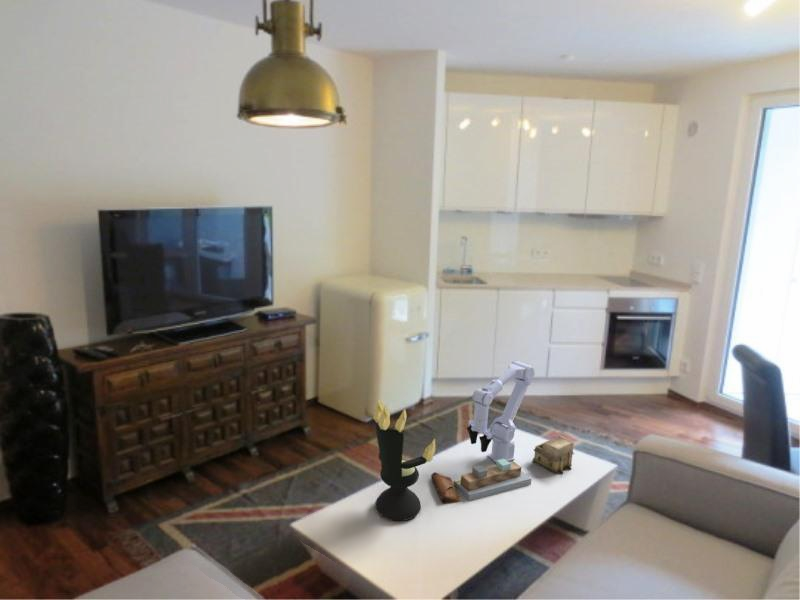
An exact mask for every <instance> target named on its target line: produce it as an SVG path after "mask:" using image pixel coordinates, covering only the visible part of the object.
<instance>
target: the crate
mask: <svg viewBox="0 0 800 600" xmlns="http://www.w3.org/2000/svg"><path fill="white" fill-rule="evenodd" d="M485 468H486V467H484V466H483V465H481V464H480V465H479V464H478V465H475V466H472V469H471V472H472V473H473V474H474V475H475V476H476V477H478V478H482V477H486V476H487V470H486V469H485Z"/></svg>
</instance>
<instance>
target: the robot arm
mask: <svg viewBox="0 0 800 600" xmlns="http://www.w3.org/2000/svg"><path fill="white" fill-rule="evenodd" d="M535 374H536V373H535V368H534V366H533V365H529V364H527V363H523V362H522V361H518V360H512V362H510V363H509V364H508V366H507V370H506V371H504V372H503V373H502V374H501V375H500V376H499V377H498V378H497V379H494V378H493V379H492V380H490V381H489V382H488V383H486V385H485V386H482V388H478V389H475V390H474V392H473V395H472V397H471V398H472V401H473V406H474V412H473V419H471V420H470V419H469V420H468V426H467V427H466V430H467V432H468V435H469V438H470V444H471V445H474V444H477V441H478V438H479V441H480V450H481V452H482V453H485V452H487V450H488V447H489V444H490V443H491V441H492V443H491V444H492V445H491V453H488V454H486V456H487V457H488V458H490V459H491V460H492V461H493V462H494V463H496V460H500V459H505V460H507V461H508V462H511V461H515V460H516V459H515V457H514V455H515V444H516V443H515V441H514V437H515V432H516V428H517V427H516V426H515V423H514V422H513V421H514V419H515V418H516V417H515V416H516V415H517V412H518V410H519V409H520V406H521V404H522V401H523V399H524V396H525V394H526V392H527V390H528V387H529V386H530V385H531V384H532V382H533V379H534V376H535ZM512 380H514V382H515V385H514V387H513V389H512V391H511V394H510V396H509V399H508V401H507V402H506V405H505V408H504V410H503V412H502V414H501V415H500V416H497V417H496V418H494V421H493V422H492V423H491V425H490V426H489V428H488V417H489V408H490V406H491V404H492V402H493V400H494V398H495V396H497V395H498V394H499V393H500V392H502V391H503V387H504V386H505V385H507V384H508V383H509V382H510V381H512ZM479 433H480V434H481V436H479V435H478V434H479ZM478 436H479V437H478Z"/></svg>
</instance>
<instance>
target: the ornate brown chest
mask: <svg viewBox="0 0 800 600" xmlns="http://www.w3.org/2000/svg"><path fill="white" fill-rule="evenodd" d="M574 443H575V441H572V440H570V439H568V438H565V437H563V436H561V435H558V436H557V437H556V438H555V437H554V438H553V439H549V440H546V441H544V442H542V443H540V444H538V445H536V446H535V447H534V449H533V452H534V457H533V458H532V459H533V464H535V465H537V466H539V467H541V468H542V469H545V470H546V471H548V472H550V473H552V472H553V474H555V475H557V474H561V475H563V474H564V471H565V470H569V471H571V470H572V461H573V455H575V453H574V445H575V444H574Z"/></svg>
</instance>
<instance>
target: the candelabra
mask: <svg viewBox="0 0 800 600" xmlns="http://www.w3.org/2000/svg"><path fill="white" fill-rule="evenodd" d="M407 416H408V415H407V411H406V408H404V409H403V411H402V412H401V414H400V415H399V418H398V419H397V420H396V423H395V425H394V428H389V427H390V424H391V420H390V418H391V413H390V411H389V409H388V407H387V405H386V404H383V403H382V401H381V400H380V398H379V397H378V400H377V405H376V407H375V410H374V413H373V420H374V422H375V432H376V438H377V445H378V450H379V453H378V460H379V461H380V463H381V464H380V465H381V470H380V474H379V475H380V479H381V481H382V482H383V483H384V484H386V485H387V486H389V487H388V488H387V489H384V490H383V491H382V492H381V493H380V494H379V495H378V497H377V498H376V500H375V507H374V508H375V510H376V511H377V512H378V514H379V515H381V516H382V517H383V518H386V519H387V520H390V521H394V522H395V521H396V522H397V521H398V522H402V521H408V520H409V521H410V520H411V519H413V518H415V517H416V516H417V515H418V514H419V513H420V511H421V509H422V505H421V500H420V499H419V497H418V496H417V494H416V493H415V492H413V491H412V490H411V489H410V488H408V487H412V486H413V485H415V483H417V481H418V479H419V474H420V473H419V470H418V469H417V467H418V466H422V465H424V464H426V463H431V462H432V460H434V459H433V457H434V455H435V452H436V438H434V439H433V440H432V442H431V443H430V444H429V445H428V446H426V447H425V449H424V452H423V453H422V456H417V457H415V458H412V459H408V460H404V459H403V452H404V441H405V434H404V431H403V430H404V428H405V425H406V422H407Z"/></svg>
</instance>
